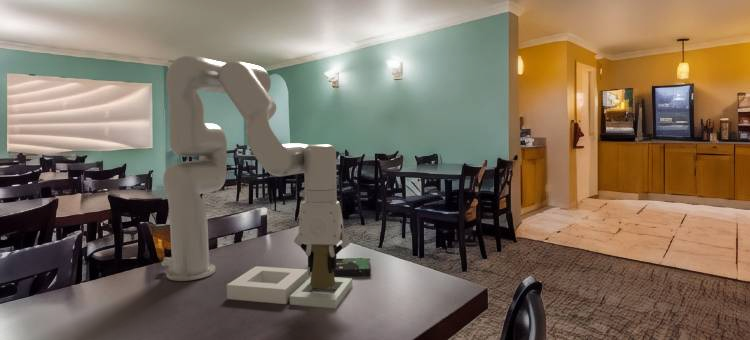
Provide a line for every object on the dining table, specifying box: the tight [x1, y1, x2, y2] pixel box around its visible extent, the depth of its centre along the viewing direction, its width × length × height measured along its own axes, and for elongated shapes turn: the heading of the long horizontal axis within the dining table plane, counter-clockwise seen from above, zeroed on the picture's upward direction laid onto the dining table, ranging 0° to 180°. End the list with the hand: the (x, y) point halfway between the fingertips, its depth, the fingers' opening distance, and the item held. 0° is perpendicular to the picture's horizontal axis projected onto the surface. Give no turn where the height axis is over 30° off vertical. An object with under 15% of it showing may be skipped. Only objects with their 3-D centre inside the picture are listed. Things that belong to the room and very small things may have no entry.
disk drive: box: [334, 257, 372, 278], centre depth 118 cm, size 10×3×15 cm
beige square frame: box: [226, 265, 309, 305], centre depth 103 cm, size 16×14×4 cm
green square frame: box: [289, 276, 353, 310], centre depth 100 cm, size 11×14×2 cm
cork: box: [310, 245, 335, 289], centre depth 99 cm, size 6×6×11 cm
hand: (322, 270), depth 100 cm, fingers closed on cork, 4 cm apart
